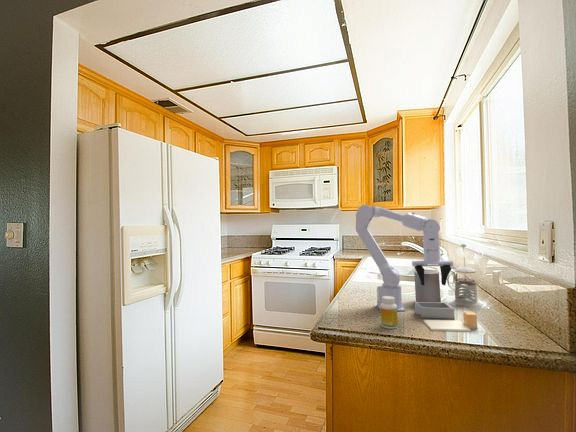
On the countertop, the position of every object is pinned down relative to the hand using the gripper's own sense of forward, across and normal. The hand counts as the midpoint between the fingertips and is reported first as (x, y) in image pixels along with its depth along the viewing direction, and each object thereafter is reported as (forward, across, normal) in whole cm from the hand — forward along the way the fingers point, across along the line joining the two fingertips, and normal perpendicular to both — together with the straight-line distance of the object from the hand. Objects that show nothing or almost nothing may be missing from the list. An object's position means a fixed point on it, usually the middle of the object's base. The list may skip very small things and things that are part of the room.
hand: (433, 284), depth 111 cm
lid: (+10, 0, -17) cm, 19 cm away
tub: (+10, -2, -6) cm, 12 cm away
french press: (+10, +16, +13) cm, 23 cm away
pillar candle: (+10, +1, +11) cm, 15 cm away
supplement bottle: (+10, -20, -18) cm, 29 cm away
